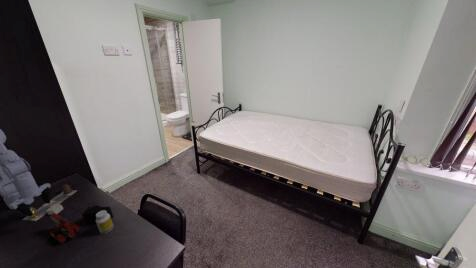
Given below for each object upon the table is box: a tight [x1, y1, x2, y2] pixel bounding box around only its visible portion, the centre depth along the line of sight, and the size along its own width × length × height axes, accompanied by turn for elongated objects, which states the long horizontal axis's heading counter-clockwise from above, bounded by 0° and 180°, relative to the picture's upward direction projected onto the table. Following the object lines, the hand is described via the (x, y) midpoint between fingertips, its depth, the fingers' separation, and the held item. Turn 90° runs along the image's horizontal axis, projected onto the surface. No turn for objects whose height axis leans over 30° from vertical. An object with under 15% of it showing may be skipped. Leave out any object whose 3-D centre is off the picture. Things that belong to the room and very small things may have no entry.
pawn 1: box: [28, 206, 40, 221], centre depth 86 cm, size 4×4×6 cm
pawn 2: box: [61, 184, 73, 195], centre depth 102 cm, size 4×4×6 cm
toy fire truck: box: [49, 213, 81, 244], centre depth 78 cm, size 7×12×10 cm, turn 67°
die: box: [46, 204, 64, 216], centre depth 90 cm, size 4×4×4 cm
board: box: [21, 189, 78, 222], centre depth 96 cm, size 8×22×1 cm, turn 176°
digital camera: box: [81, 204, 114, 225], centre depth 86 cm, size 10×5×7 cm, turn 92°
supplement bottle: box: [95, 210, 115, 235], centre depth 81 cm, size 5×5×10 cm
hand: (39, 209), depth 82 cm, fingers open, 7 cm apart
